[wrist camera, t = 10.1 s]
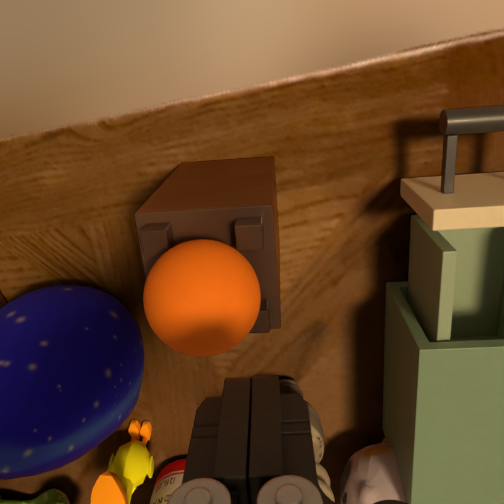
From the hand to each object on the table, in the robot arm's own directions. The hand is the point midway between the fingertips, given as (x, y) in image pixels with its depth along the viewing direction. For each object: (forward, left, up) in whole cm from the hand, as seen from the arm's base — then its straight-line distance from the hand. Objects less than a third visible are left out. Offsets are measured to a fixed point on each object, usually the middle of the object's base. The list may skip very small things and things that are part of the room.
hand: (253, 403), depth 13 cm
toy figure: (-12, -20, -22) cm, 32 cm away
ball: (-3, 0, -8) cm, 8 cm away
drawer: (+13, -3, -21) cm, 25 cm away
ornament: (-15, -9, -22) cm, 28 cm away
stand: (-3, 0, -22) cm, 22 cm away
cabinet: (+13, -14, -22) cm, 29 cm away
